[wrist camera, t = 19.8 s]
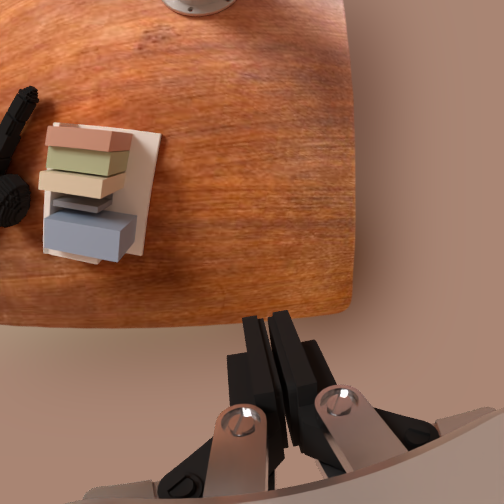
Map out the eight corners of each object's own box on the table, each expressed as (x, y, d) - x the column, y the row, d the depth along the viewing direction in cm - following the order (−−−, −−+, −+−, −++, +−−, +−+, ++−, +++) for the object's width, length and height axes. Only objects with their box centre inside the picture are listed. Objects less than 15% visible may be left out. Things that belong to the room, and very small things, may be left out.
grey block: (71, 205, 41) (44, 218, 33) (137, 215, 43) (120, 231, 35) (69, 230, 42) (44, 247, 34) (134, 241, 44) (117, 262, 36)
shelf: (75, 124, 38) (40, 121, 28) (161, 134, 40) (144, 130, 30) (63, 238, 43) (31, 261, 33) (143, 253, 46) (124, 282, 36)
